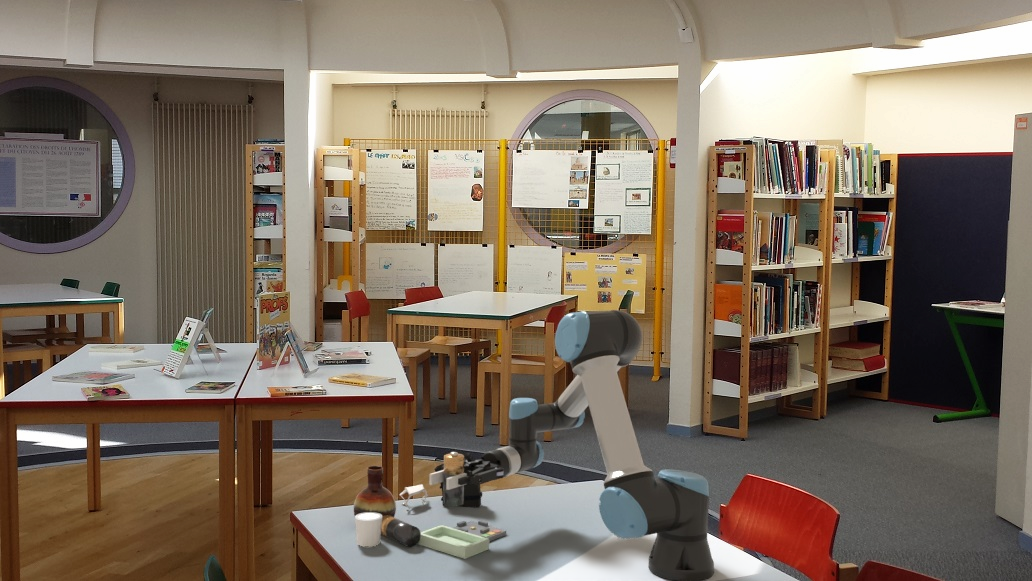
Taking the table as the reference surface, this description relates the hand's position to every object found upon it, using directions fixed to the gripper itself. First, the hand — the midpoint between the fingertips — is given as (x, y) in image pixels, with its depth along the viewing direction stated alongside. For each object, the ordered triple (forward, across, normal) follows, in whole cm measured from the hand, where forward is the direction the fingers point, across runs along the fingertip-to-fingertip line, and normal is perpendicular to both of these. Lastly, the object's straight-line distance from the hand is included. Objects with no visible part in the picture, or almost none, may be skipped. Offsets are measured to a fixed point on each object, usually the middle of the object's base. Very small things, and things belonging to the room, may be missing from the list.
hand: (439, 481), depth 225 cm
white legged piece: (-22, +31, -18) cm, 42 cm away
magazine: (-31, +22, -18) cm, 42 cm away
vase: (-4, +26, -18) cm, 32 cm away
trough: (-5, 0, -18) cm, 18 cm away
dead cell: (+1, +13, -18) cm, 22 cm away
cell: (-5, 0, -7) cm, 8 cm away
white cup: (+7, +17, -18) cm, 26 cm away
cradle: (-16, +2, -18) cm, 24 cm away
